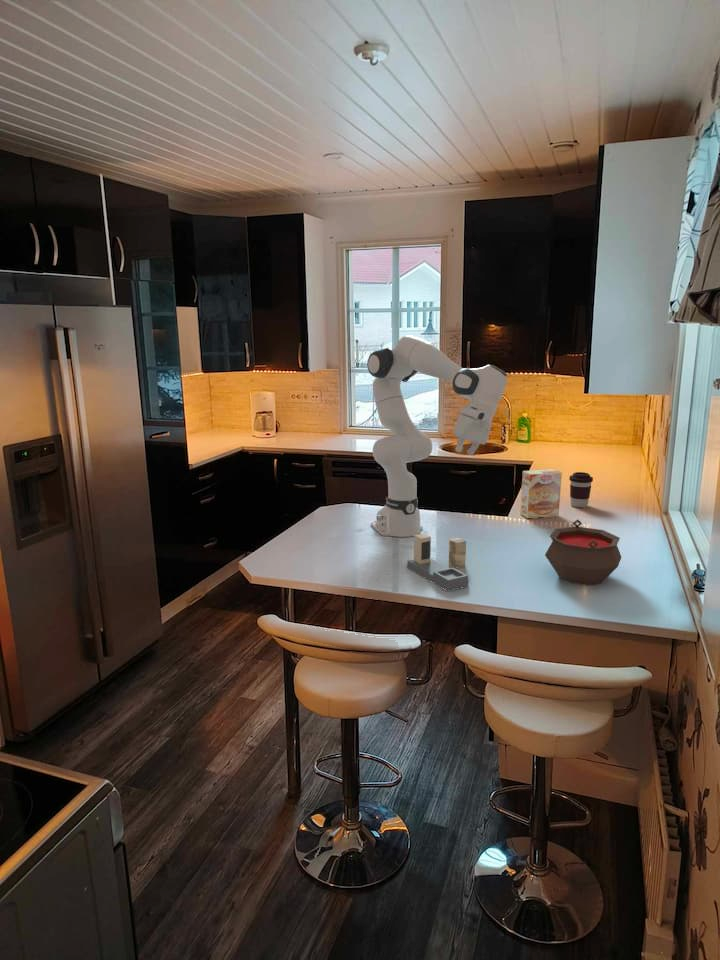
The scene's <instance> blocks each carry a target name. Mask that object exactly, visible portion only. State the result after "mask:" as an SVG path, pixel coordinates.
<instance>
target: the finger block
mask: <svg viewBox="0 0 720 960" xmlns="http://www.w3.org/2000/svg"><path fill="white" fill-rule="evenodd" d="M448 544H449V545H448V547H449V548H448V565H449V564H450V565H449V566H451V565H452V566H454V567H459V568H461V567H460V566H464V567H466V555H467V554H466V553H467V540H464V539H463V538H460V537H456V538H451V539H449V541H448ZM452 566H451V567H452ZM454 567H453V568H454Z"/></svg>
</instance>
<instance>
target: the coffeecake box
mask: <svg viewBox="0 0 720 960" xmlns="http://www.w3.org/2000/svg"><path fill="white" fill-rule="evenodd" d="M562 475H563V473H562V472H561V471H559V470H557V469H555V468H551V469H550V468H549V469H535V470H522V477H521V478H522V481H521V496H520V511H519V512H520V513H519V514H521V516H522V515H523V516H522V517H524V516H525V517H526V518H525V517H524V518H525V519H527V518H532V519H539V518H538V517H544V518H553V517H554V516H556V517H559V514H560V501H561V490H562V489H561V488H562V478H563V477H562Z"/></svg>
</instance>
